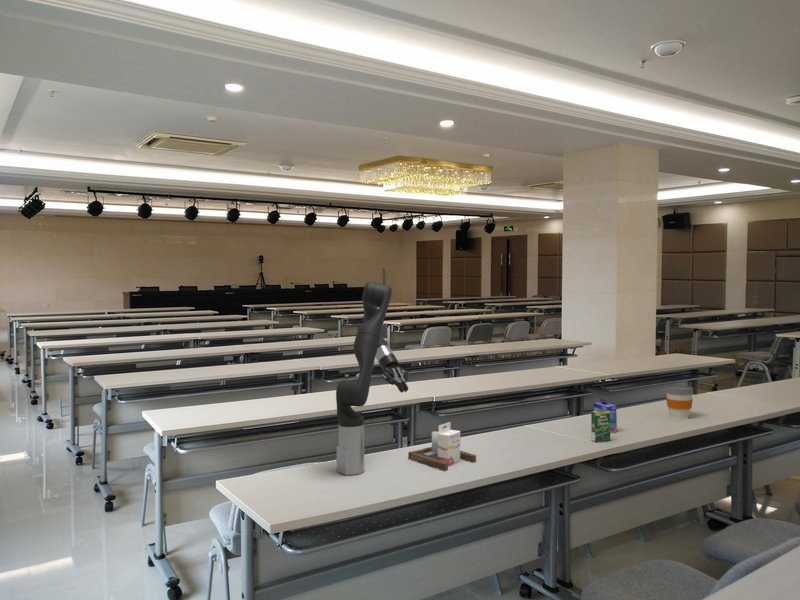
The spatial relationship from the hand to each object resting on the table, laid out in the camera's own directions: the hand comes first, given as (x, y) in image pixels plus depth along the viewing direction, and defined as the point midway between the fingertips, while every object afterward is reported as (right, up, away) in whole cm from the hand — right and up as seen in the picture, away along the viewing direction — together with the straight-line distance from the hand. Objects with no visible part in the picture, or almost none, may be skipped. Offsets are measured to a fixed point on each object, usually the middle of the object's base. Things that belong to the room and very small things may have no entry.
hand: (404, 390), depth 248 cm
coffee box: (+84, -23, +9) cm, 88 cm away
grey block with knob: (+12, -24, -14) cm, 30 cm away
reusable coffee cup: (+138, -21, +53) cm, 149 cm away
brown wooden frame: (+14, -24, -16) cm, 32 cm away
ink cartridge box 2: (+92, -22, +28) cm, 99 cm away
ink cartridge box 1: (+17, -25, -19) cm, 35 cm away
